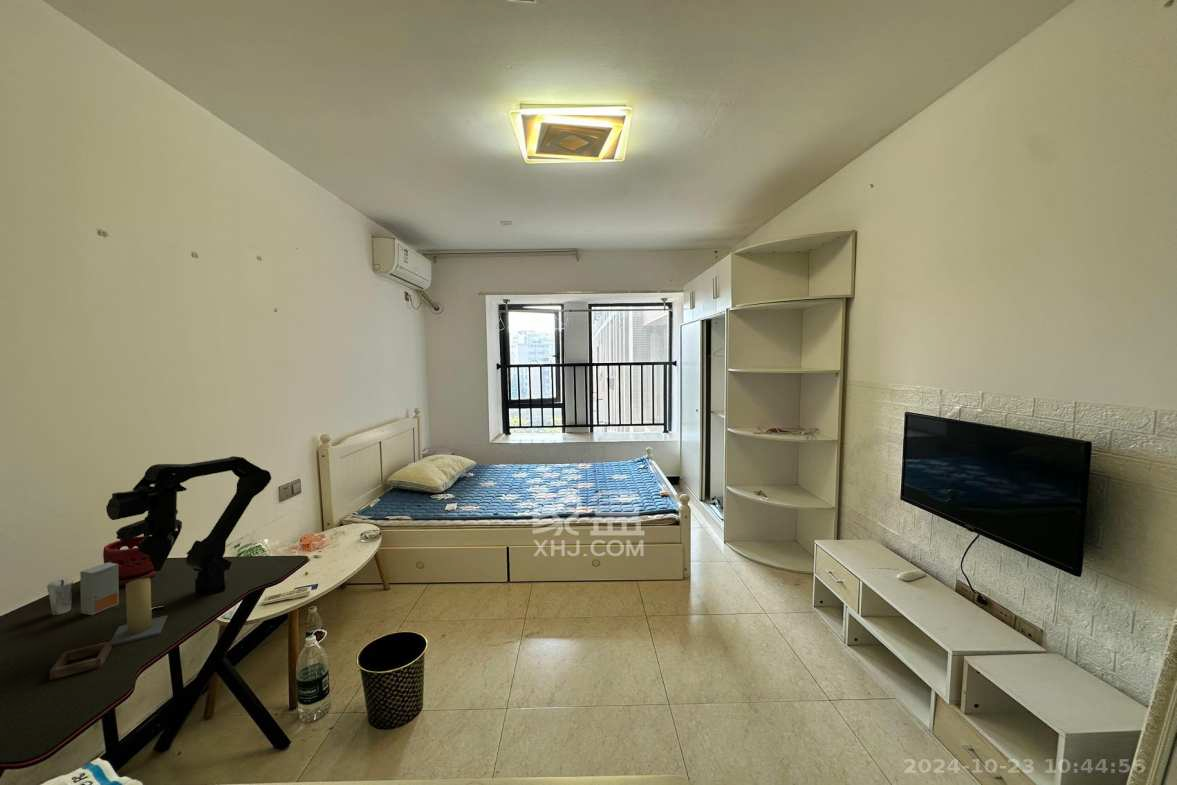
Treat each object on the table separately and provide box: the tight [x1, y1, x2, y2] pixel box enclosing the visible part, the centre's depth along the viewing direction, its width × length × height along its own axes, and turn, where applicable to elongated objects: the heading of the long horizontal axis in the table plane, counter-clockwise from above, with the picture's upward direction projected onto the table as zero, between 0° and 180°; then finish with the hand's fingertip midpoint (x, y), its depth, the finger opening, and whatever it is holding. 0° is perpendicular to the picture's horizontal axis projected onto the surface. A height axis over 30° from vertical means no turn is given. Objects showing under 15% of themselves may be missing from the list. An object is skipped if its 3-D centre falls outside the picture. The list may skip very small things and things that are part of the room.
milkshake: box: [46, 577, 74, 616], centre depth 118 cm, size 4×5×10 cm
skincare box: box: [79, 562, 120, 616], centre depth 120 cm, size 6×4×12 cm
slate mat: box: [110, 615, 168, 647], centre depth 111 cm, size 9×9×1 cm
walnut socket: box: [48, 640, 113, 681], centre depth 98 cm, size 8×8×2 cm
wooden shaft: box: [125, 577, 153, 634], centre depth 110 cm, size 4×4×12 cm
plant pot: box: [102, 535, 158, 586], centre depth 137 cm, size 13×13×12 cm
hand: (161, 564), depth 119 cm, fingers open, 9 cm apart
